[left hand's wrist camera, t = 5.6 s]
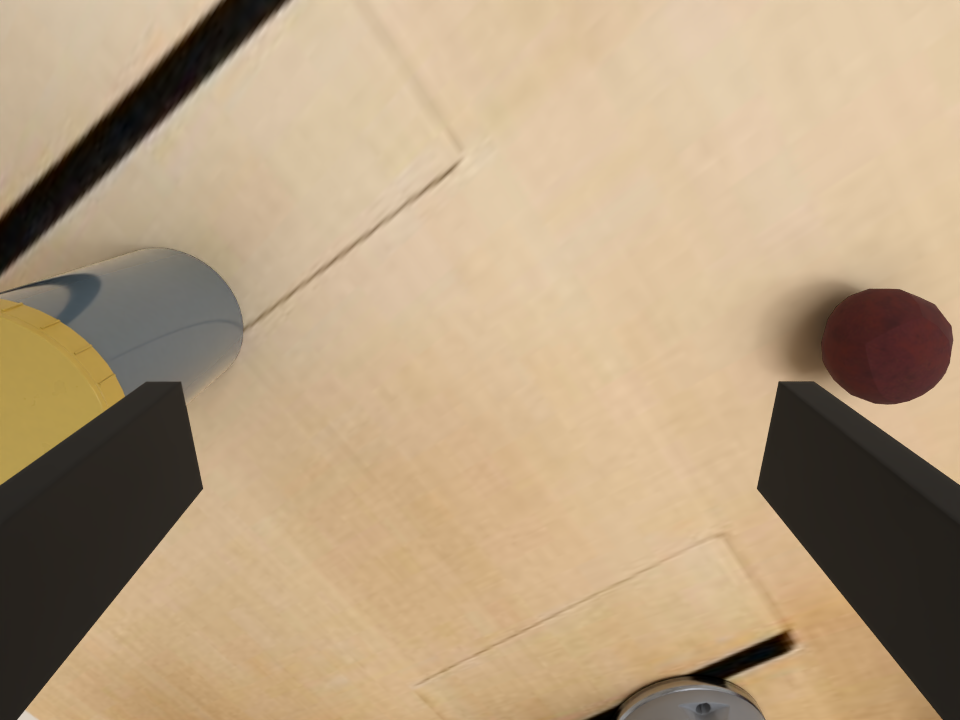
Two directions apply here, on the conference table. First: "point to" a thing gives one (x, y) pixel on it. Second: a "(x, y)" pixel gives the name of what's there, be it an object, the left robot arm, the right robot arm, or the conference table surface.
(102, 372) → the lid
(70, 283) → the jar
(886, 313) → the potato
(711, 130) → the conference table surface
